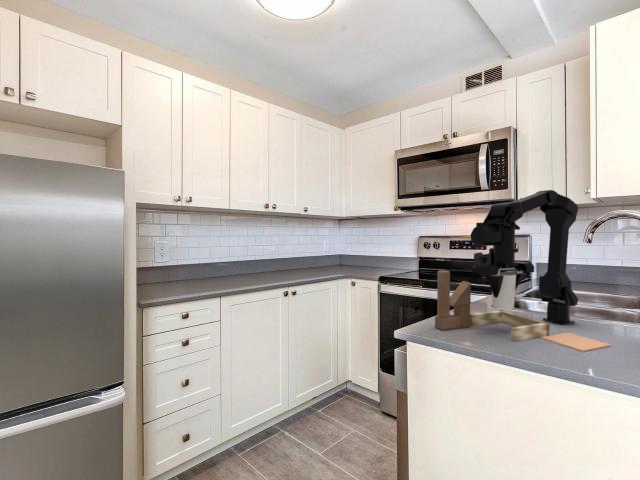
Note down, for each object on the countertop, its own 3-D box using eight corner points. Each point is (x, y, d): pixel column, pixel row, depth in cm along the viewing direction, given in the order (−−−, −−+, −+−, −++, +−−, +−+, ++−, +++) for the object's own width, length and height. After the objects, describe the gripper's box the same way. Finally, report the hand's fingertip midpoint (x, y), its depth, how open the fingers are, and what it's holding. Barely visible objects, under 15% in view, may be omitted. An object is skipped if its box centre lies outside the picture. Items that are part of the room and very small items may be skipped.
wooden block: (470, 327, 106) (471, 270, 105) (442, 330, 102) (442, 272, 102) (462, 324, 109) (462, 269, 109) (434, 327, 106) (434, 270, 105)
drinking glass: (485, 305, 103) (486, 273, 102) (499, 303, 106) (500, 271, 105) (506, 310, 97) (506, 276, 97) (520, 307, 100) (521, 274, 100)
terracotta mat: (567, 333, 98) (567, 332, 98) (611, 346, 88) (611, 344, 88) (540, 338, 95) (540, 337, 95) (582, 351, 84) (583, 350, 84)
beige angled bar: (501, 320, 112) (501, 310, 112) (549, 335, 97) (549, 323, 97) (469, 325, 108) (469, 314, 108) (514, 341, 92) (514, 328, 92)
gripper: (504, 243, 111) (503, 289, 112) (459, 244, 105) (459, 294, 106) (535, 244, 101) (535, 296, 102) (488, 246, 95) (487, 301, 95)
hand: (503, 296), depth 101 cm, fingers closed on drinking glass, 5 cm apart
